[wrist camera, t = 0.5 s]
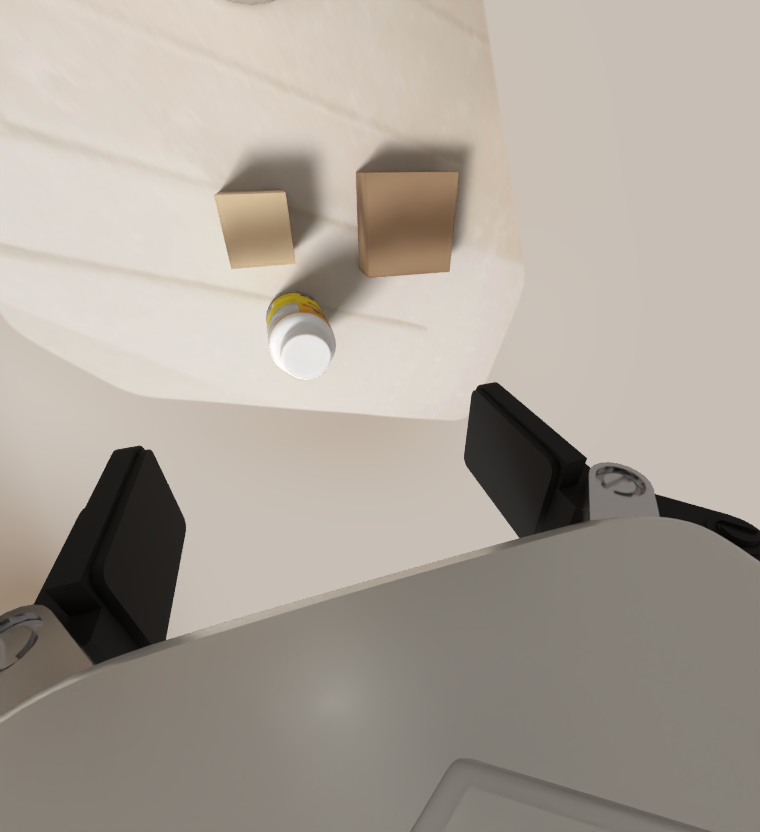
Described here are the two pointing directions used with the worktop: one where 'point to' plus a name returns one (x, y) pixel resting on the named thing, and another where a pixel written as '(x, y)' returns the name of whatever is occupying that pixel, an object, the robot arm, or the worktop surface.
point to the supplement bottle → (299, 335)
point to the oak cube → (256, 228)
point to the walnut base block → (405, 222)
